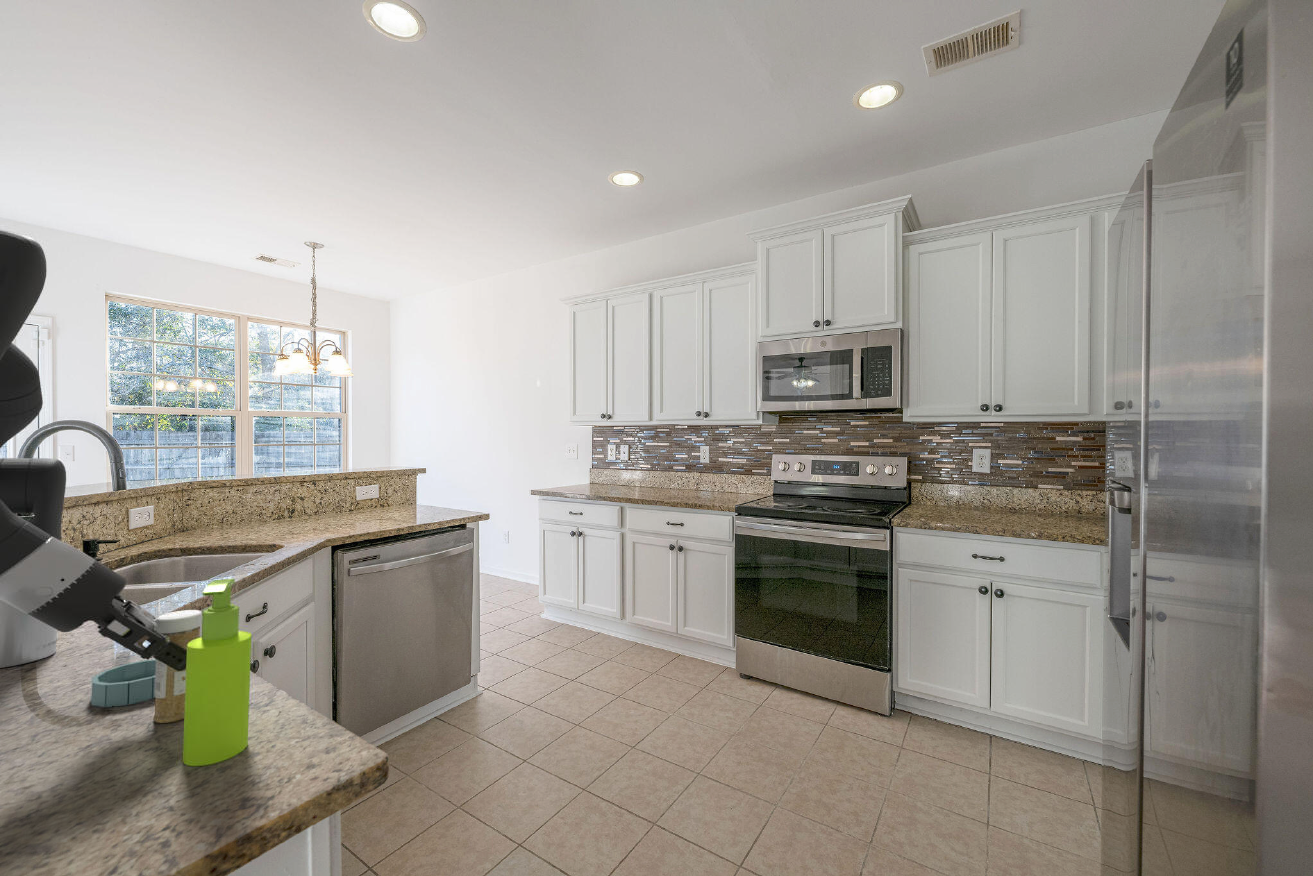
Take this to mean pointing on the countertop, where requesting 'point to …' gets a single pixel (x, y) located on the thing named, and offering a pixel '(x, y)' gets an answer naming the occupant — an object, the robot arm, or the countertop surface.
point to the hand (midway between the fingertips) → (183, 655)
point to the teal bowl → (124, 684)
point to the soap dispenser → (217, 683)
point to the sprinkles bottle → (167, 679)
